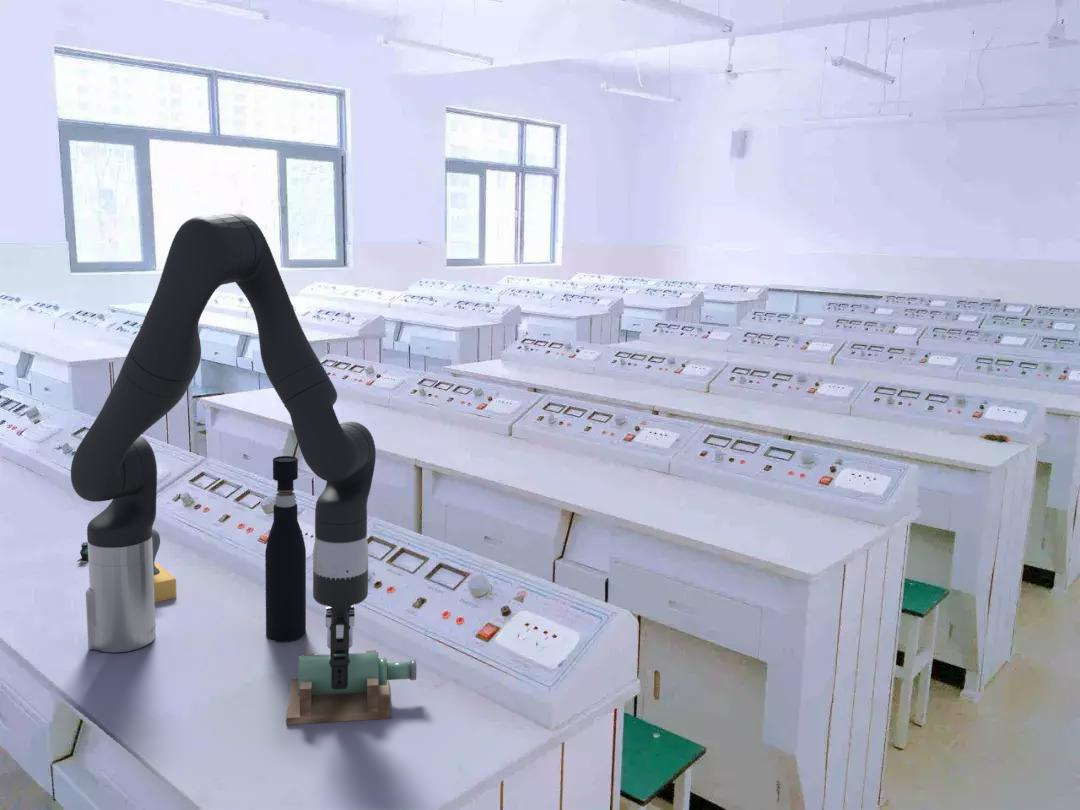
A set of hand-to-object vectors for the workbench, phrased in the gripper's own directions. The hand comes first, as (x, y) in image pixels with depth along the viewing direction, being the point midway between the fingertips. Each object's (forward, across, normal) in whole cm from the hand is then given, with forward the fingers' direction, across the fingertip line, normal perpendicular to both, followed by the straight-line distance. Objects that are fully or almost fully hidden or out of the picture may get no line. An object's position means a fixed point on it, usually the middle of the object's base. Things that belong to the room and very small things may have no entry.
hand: (339, 673), depth 128 cm
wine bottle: (+4, +23, +9) cm, 25 cm away
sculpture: (+5, +60, +49) cm, 78 cm away
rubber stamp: (+5, +43, +34) cm, 55 cm away
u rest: (+4, 0, 0) cm, 4 cm away
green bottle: (+3, 0, -3) cm, 4 cm away
